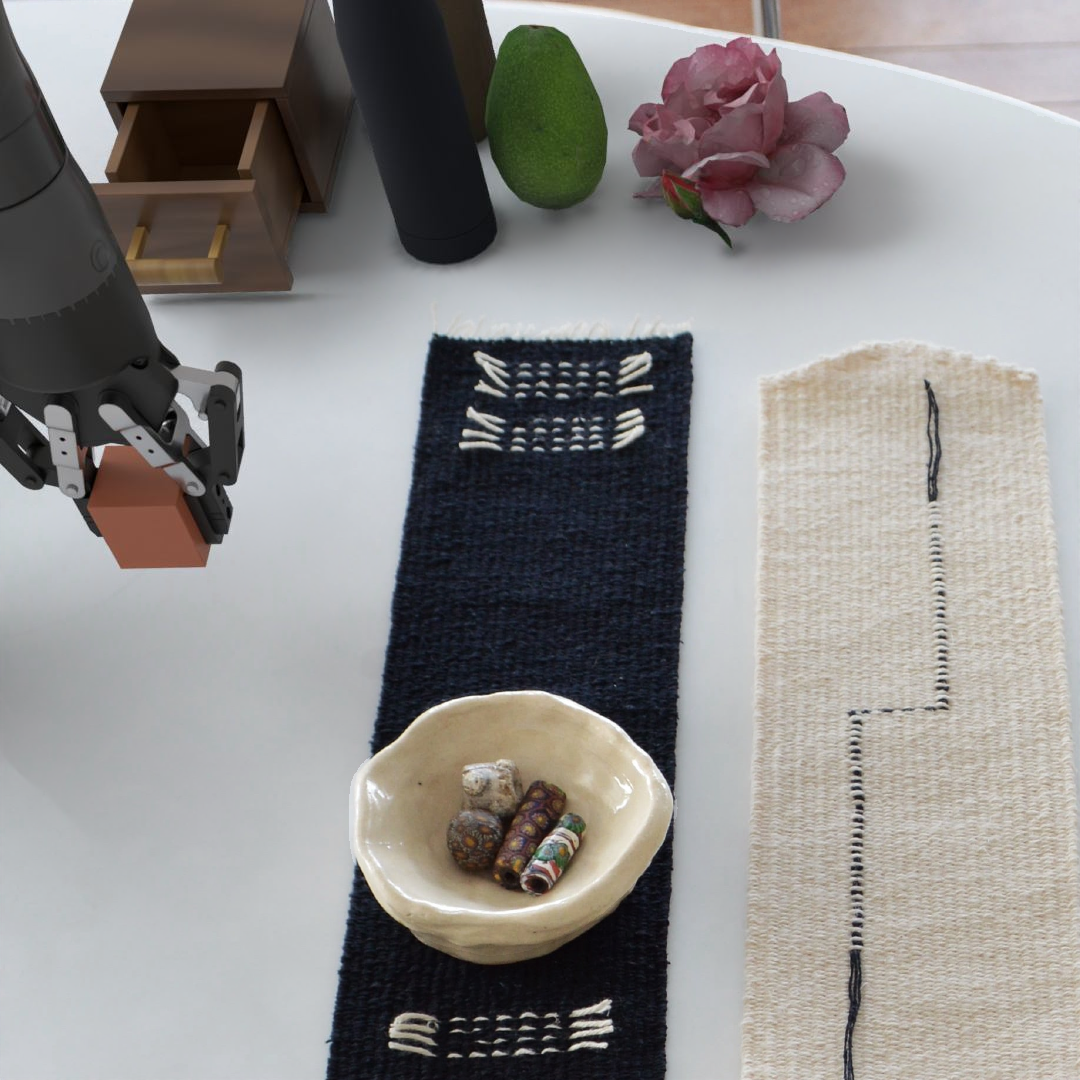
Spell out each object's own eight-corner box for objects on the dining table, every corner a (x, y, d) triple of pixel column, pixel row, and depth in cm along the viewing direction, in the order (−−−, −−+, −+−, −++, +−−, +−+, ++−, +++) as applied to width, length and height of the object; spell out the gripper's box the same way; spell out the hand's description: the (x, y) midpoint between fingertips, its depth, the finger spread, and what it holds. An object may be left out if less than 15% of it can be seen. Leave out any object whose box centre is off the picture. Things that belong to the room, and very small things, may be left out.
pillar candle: (536, 109, 124) (488, -110, 112) (429, 174, 121) (367, -45, 108) (446, 56, 128) (390, -162, 115) (340, 118, 124) (269, -101, 111)
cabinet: (327, 212, 118) (283, 86, 111) (155, 216, 118) (98, 90, 111) (356, 91, 126) (317, -35, 118) (193, 95, 125) (143, -31, 118)
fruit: (636, 214, 118) (605, 44, 108) (524, 247, 116) (482, 77, 106) (597, 149, 122) (564, -22, 112) (488, 180, 120) (444, 9, 110)
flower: (860, 92, 120) (809, -33, 111) (863, 254, 114) (808, 136, 106) (661, 147, 124) (597, 31, 115) (654, 308, 118) (585, 197, 109)
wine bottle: (493, 263, 116) (360, -234, 90) (395, 266, 115) (235, -231, 90) (502, 202, 119) (377, -295, 93) (407, 204, 119) (256, -292, 93)
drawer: (279, 341, 110) (238, 241, 104) (113, 345, 110) (63, 245, 104) (321, 170, 119) (287, 68, 113) (168, 173, 119) (125, 72, 113)
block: (120, 569, 91) (86, 507, 87) (137, 507, 93) (104, 445, 90) (206, 567, 91) (175, 505, 88) (221, 506, 94) (191, 443, 90)
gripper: (206, 200, 80) (316, 480, 94) (-113, 205, 79) (47, 485, 94) (175, 310, 76) (295, 584, 90) (-161, 316, 75) (14, 590, 90)
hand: (168, 532), depth 92 cm, fingers closed on block, 4 cm apart
